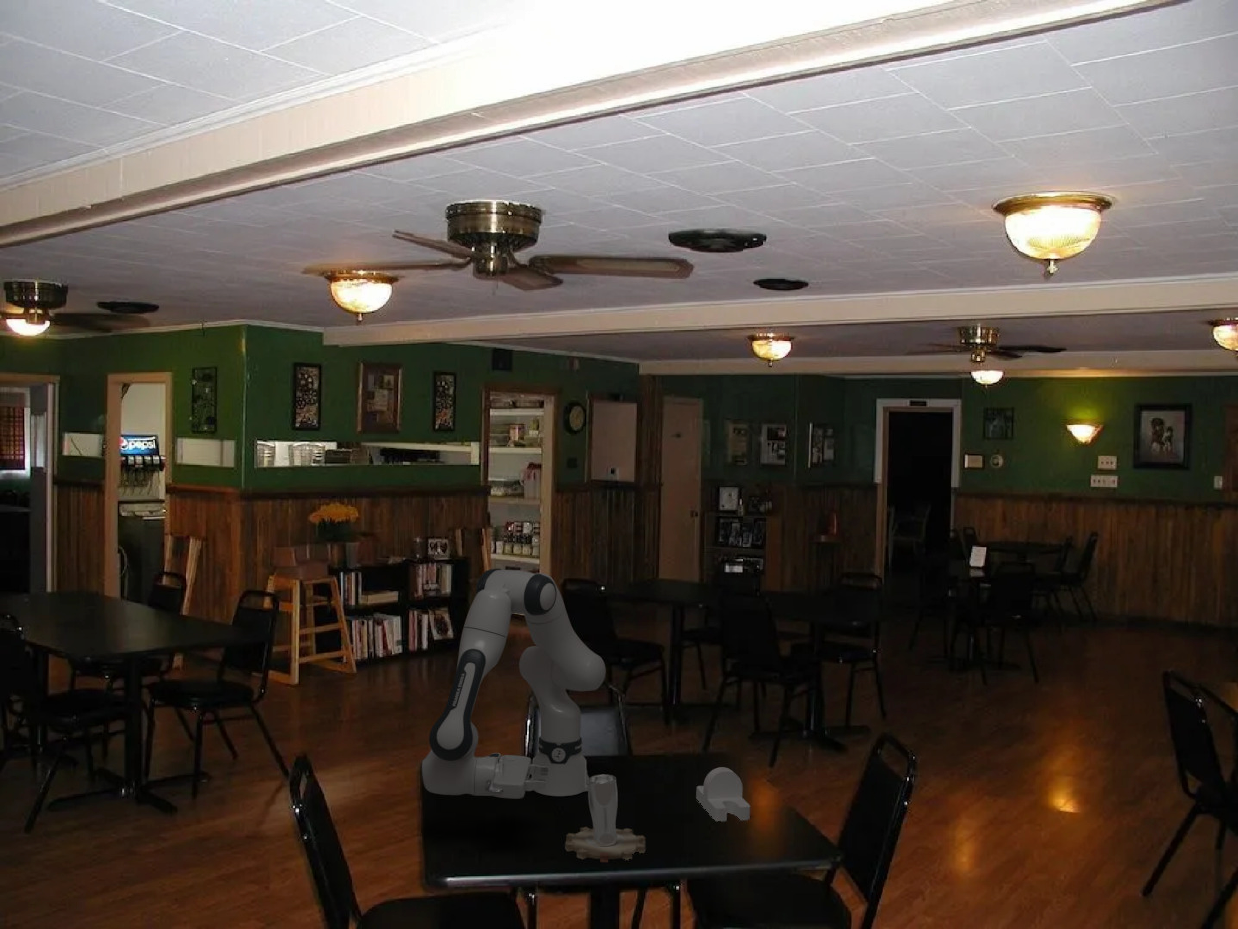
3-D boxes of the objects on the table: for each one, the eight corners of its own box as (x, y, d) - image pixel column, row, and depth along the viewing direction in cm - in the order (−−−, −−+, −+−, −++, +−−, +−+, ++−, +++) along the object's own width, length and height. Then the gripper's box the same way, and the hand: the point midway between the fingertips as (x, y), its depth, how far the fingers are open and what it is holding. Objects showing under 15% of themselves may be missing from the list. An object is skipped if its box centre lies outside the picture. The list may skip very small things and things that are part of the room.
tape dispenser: (715, 822, 281) (716, 781, 281) (695, 799, 299) (696, 760, 298) (751, 820, 283) (752, 779, 283) (728, 797, 301) (730, 758, 301)
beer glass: (584, 842, 261) (581, 779, 260) (604, 834, 266) (601, 772, 266) (605, 849, 256) (602, 785, 256) (625, 840, 261) (622, 777, 261)
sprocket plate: (568, 830, 272) (568, 824, 272) (644, 832, 272) (645, 826, 272) (562, 861, 253) (563, 854, 253) (645, 863, 253) (645, 857, 253)
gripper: (483, 778, 253) (543, 779, 253) (494, 750, 274) (550, 751, 273) (483, 805, 253) (543, 806, 253) (494, 775, 274) (550, 776, 274)
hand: (547, 777), depth 264 cm, fingers open, 8 cm apart
